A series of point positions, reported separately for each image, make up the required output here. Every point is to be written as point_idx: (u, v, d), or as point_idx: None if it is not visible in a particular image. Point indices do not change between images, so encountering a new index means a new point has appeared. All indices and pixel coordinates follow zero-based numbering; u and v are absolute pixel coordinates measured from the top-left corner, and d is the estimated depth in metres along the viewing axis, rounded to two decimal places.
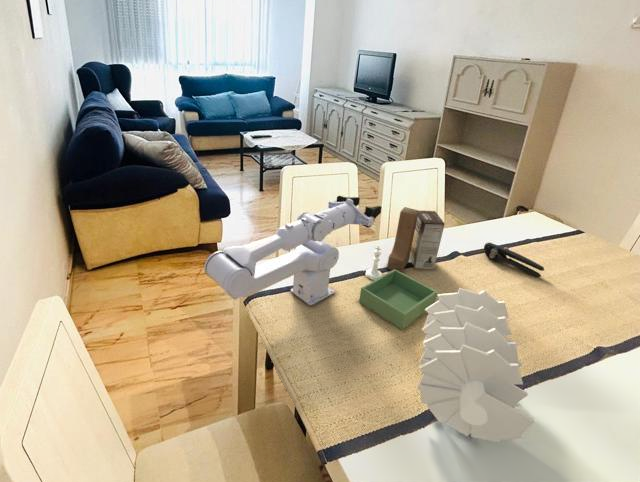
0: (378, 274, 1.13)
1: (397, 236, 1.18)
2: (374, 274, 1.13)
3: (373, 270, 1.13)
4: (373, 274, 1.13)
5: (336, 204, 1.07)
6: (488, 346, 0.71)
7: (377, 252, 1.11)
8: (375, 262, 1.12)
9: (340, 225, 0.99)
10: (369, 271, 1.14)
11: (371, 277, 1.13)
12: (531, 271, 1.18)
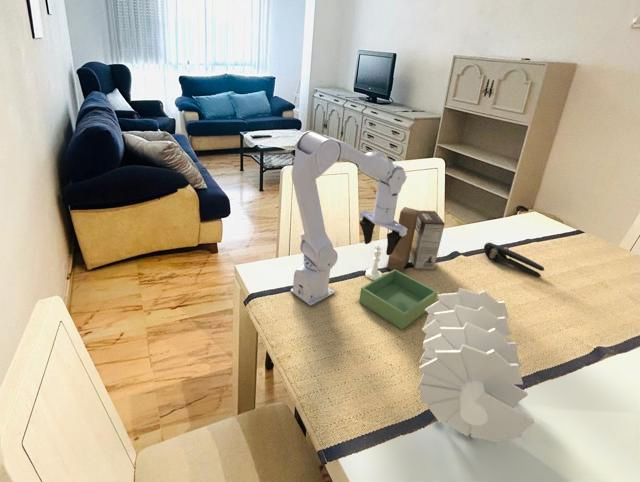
0: (378, 274, 1.13)
1: None
2: (374, 274, 1.13)
3: (373, 270, 1.13)
4: (373, 274, 1.13)
5: (372, 214, 1.11)
6: (488, 346, 0.71)
7: (377, 252, 1.11)
8: (375, 262, 1.12)
9: (390, 204, 1.03)
10: (369, 271, 1.14)
11: (371, 277, 1.13)
12: (531, 271, 1.18)
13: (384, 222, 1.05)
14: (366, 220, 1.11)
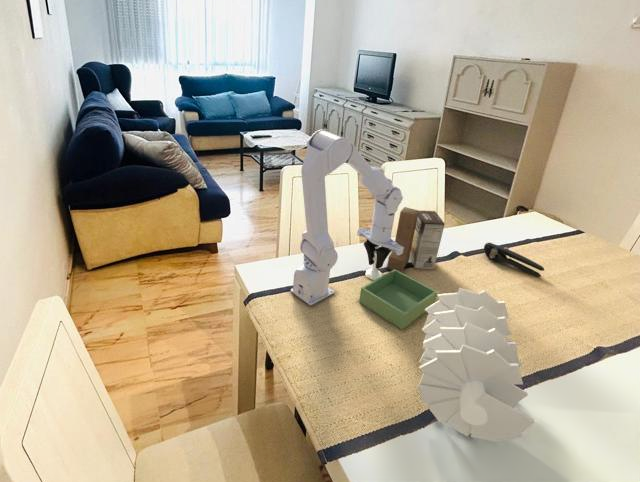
0: (378, 274, 1.13)
1: (397, 236, 1.18)
2: (374, 274, 1.13)
3: (373, 270, 1.13)
4: (373, 274, 1.13)
5: (369, 231, 1.14)
6: (488, 346, 0.71)
7: None
8: (375, 262, 1.12)
9: (387, 224, 1.05)
10: (369, 271, 1.14)
11: (371, 277, 1.13)
12: (531, 271, 1.18)
13: (381, 241, 1.07)
14: None
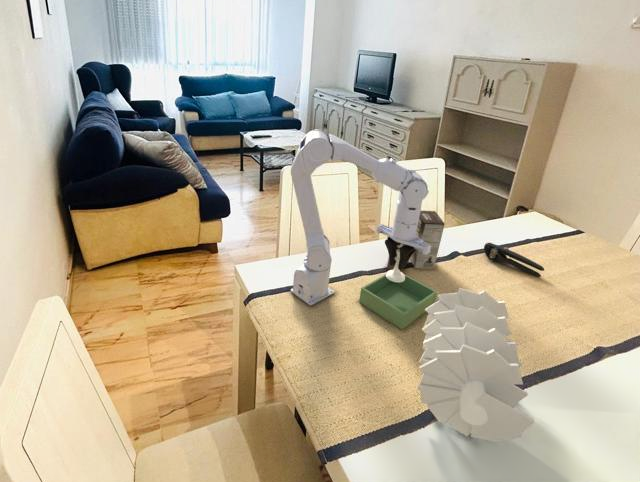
0: (401, 276, 1.01)
1: None
2: (396, 276, 1.01)
3: (395, 271, 1.01)
4: (395, 276, 1.01)
5: (390, 228, 1.02)
6: (488, 346, 0.71)
7: None
8: (397, 262, 1.00)
9: (406, 219, 0.93)
10: (390, 272, 1.02)
11: (392, 279, 1.01)
12: (531, 271, 1.18)
13: (405, 239, 0.95)
14: None
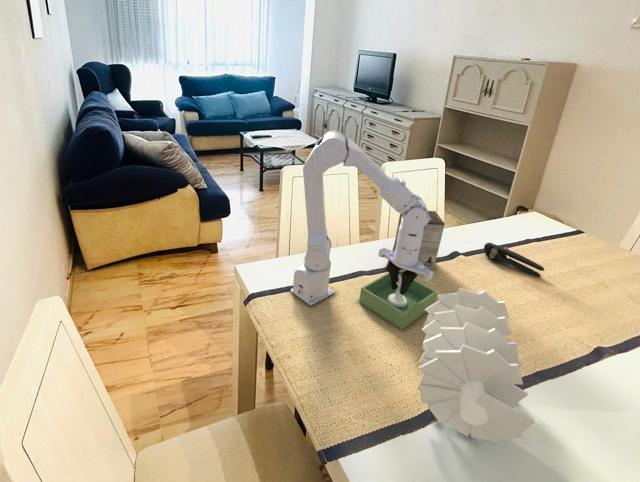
0: (402, 300, 1.01)
1: (397, 236, 1.18)
2: (398, 300, 1.00)
3: (397, 295, 1.01)
4: (397, 300, 1.00)
5: (392, 252, 1.01)
6: (488, 346, 0.71)
7: None
8: (399, 287, 1.00)
9: (407, 245, 0.93)
10: (392, 296, 1.02)
11: (394, 304, 1.00)
12: (531, 271, 1.18)
13: (407, 264, 0.95)
14: None
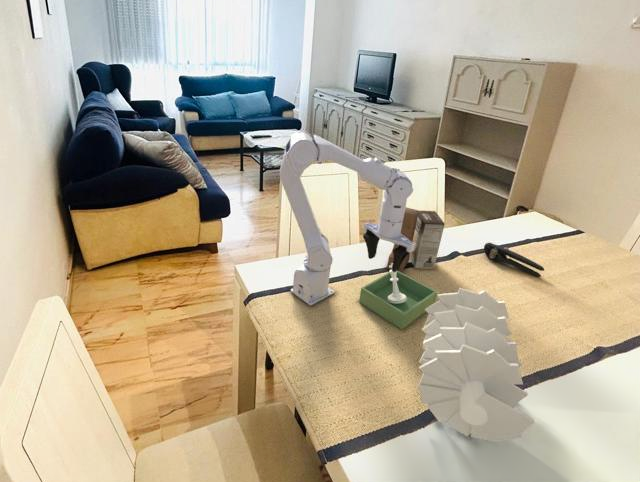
0: (401, 296, 1.01)
1: None
2: (397, 297, 1.01)
3: (394, 293, 1.01)
4: (395, 297, 1.01)
5: (376, 226, 1.03)
6: (488, 346, 0.71)
7: (392, 271, 1.00)
8: (394, 283, 1.01)
9: (392, 217, 0.94)
10: (391, 296, 1.02)
11: (394, 301, 1.00)
12: (531, 271, 1.18)
13: (390, 236, 0.96)
14: (370, 233, 1.03)
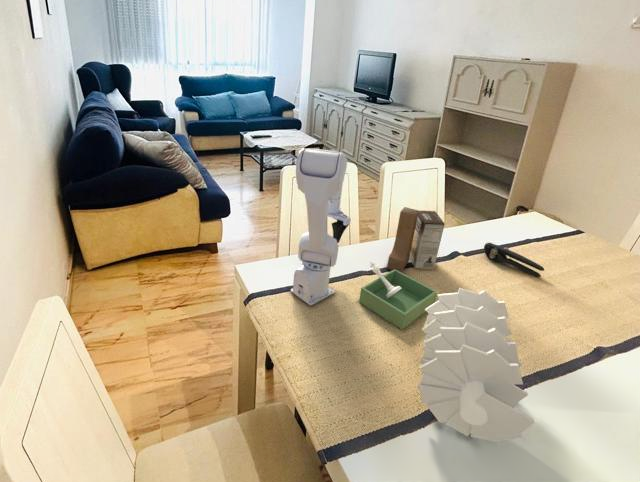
0: (395, 287, 1.02)
1: (397, 236, 1.18)
2: (391, 289, 1.01)
3: (388, 287, 1.02)
4: (390, 290, 1.01)
5: None
6: (488, 346, 0.71)
7: (374, 268, 1.05)
8: (382, 279, 1.04)
9: (340, 193, 1.08)
10: (387, 293, 1.03)
11: (390, 294, 1.01)
12: (531, 271, 1.18)
13: (329, 212, 1.09)
14: None
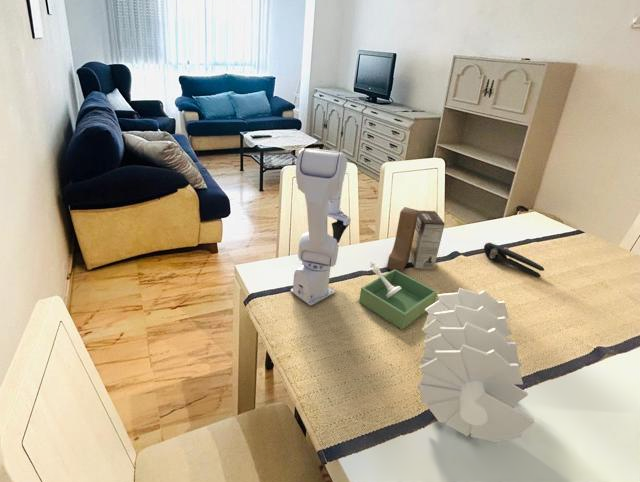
0: (395, 287, 1.02)
1: (397, 236, 1.18)
2: (391, 289, 1.01)
3: (388, 287, 1.02)
4: (390, 290, 1.01)
5: None
6: (488, 346, 0.71)
7: (374, 268, 1.05)
8: (382, 279, 1.04)
9: (340, 193, 1.08)
10: (387, 293, 1.03)
11: (390, 294, 1.01)
12: (531, 271, 1.18)
13: (329, 212, 1.09)
14: None
